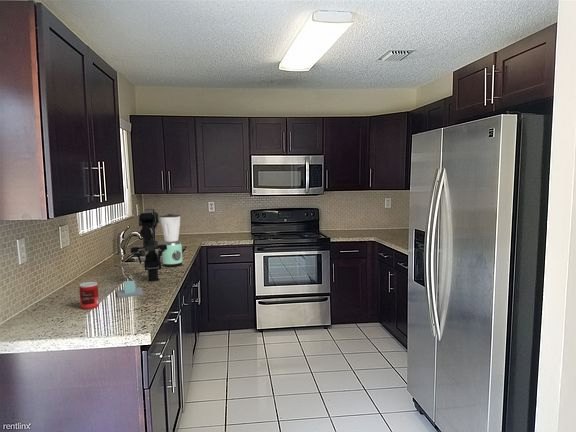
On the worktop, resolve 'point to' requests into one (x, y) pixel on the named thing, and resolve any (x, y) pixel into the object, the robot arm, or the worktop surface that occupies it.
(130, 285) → the block
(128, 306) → the worktop surface
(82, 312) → the worktop surface
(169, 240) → the blender
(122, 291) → the pad
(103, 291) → the worktop surface
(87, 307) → the canned food
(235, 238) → the worktop surface
